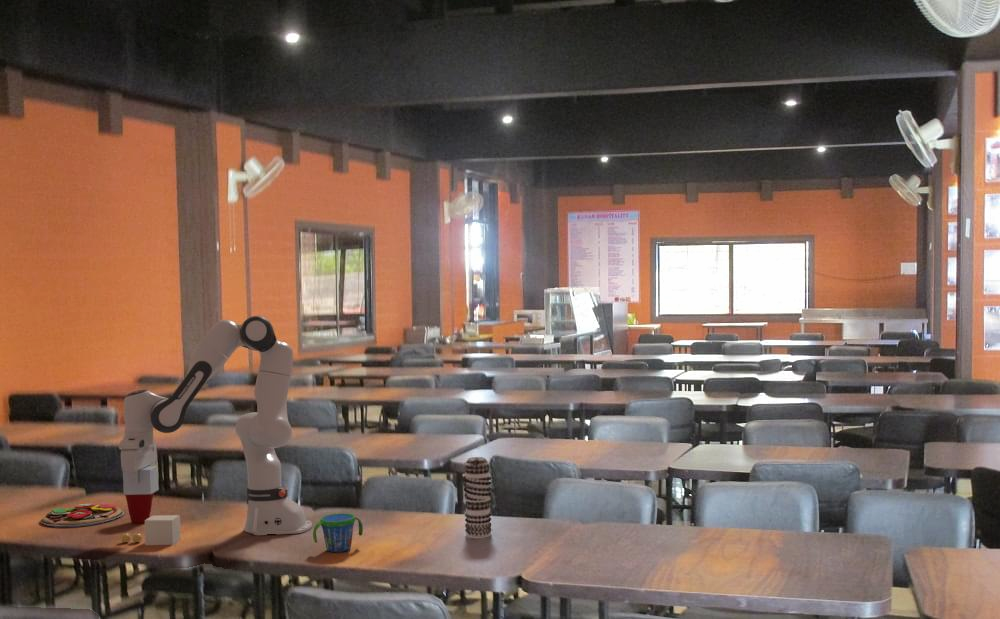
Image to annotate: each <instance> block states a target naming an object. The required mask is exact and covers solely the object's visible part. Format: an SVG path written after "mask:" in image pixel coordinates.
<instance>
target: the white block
mask: <svg viewBox="0 0 1000 619" xmlns="http://www.w3.org/2000/svg"><path fill="white" fill-rule="evenodd" d="M158 469H159V467H158V465H151V466H146V467H144V468H142V469H140V470H138V478H139V479H140V483H139V484H133V482H132V478H131V475H130V473H123V472H122V481H123V482H122V484H123V490H124V491H123V496H125V495H137V494H152V493H154V494H155V493H156V492H158V491H159V490H160V488H159V470H158Z"/></svg>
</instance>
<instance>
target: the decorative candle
mask: <svg viewBox="0 0 1000 619" xmlns="http://www.w3.org/2000/svg"><path fill="white" fill-rule="evenodd" d="M489 464H490V462H489V461H488V460H487V459H486V458H485V457H482V456H474V457H469V458H467V460H466V462H464V465H465V472H464V474H465V475H463V477H462V480H463V486H464V487H463V491H464V492H465V493H464V495H463V496H464V501H465V502H466V503H465V504H466V507H465V513H464V515H465V519H464V521H465V522H466V523H465V524H464V526H465V530H464V531H465V537H466V538H469V539H486V538H490V537H491V536H492V523H491V521H492V518H491V516H492V513H491V507H490V500H491V495H492V493H491V492H490V491H492V488H491V487H489V486H490V485H492V481H490V480H492V477H491V476H490V471H489V468H490V467H489ZM489 536H490V537H489Z"/></svg>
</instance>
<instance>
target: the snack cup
mask: <svg viewBox="0 0 1000 619" xmlns="http://www.w3.org/2000/svg"><path fill="white" fill-rule="evenodd" d="M356 520H357V521H358V535H359V536H362V535H363V532H364V527H363V523H362V521H361V519H359V518H358V517H357V516H355V515H354V514H351V513H344V512H343V513H341V512H339V513H331V514H327V515H324V516H322V517H320V520H319V521H318V522H317V523H316V524H315V526H314V527H313V528H314V529H313V532H312V538H313V542H314V543H316V544H317V543H318V539H317V531H318V530H317V529H318V528H319V527H320V526H321V528H322V531H323V538H324V543H325V548H326V551H327V552H331V553H342V552H343V553H344V552H346V551H349V550H350V549H351V547H352V542H353V540H352V539H353V536H354V535H353V534H354V533H353V532H354V525H355V521H356Z"/></svg>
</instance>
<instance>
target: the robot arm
mask: <svg viewBox="0 0 1000 619" xmlns="http://www.w3.org/2000/svg"><path fill="white" fill-rule="evenodd" d="M240 347H242V348H246V349H248V350H252V351H255V352H258V353H259V356H260V362H259V366H258V372H257V375H256V376H257V377H256V379H255V380H256V382H255V385H254V391H253V395H254V398H255V401H256V406H257V407H256V408H257V411H256V412H255V411H253V412H247V413H245V414H242V415H241V416H240V417H239V418H238V419H237V421H236V422H235V433H236V436H237V437H238V438H239V441H240V443H241V446H242V450H243V453H244V458H245V461H246V462H245V463H246V470H247V488H246V494H245V495H246V504H247V513H246V520H245V525H244V528H243V531H244V532H246V533H249V534H252V535H254V536H268V535H267V534H276V535H288V534H290V535H291V534H294V535H295V534H302V533H305V532H307V531H309V530H310V529H311V528H312V527H313V522H312V521H311V520H307V519H306V514H305V510H304V507H302V506H301V505H300V504H298V503H297V502H295V501H294V500H293V499H291V498H290V497H288V491H289V487H285V486H283V485H282V464H281V461H280V459H279V457H278V455H277V453H276V450H275V449H278V448H282V447H284V446H286V445H288V443H289V442H290V441H291V438H292V435H293V429H292V425H291V424H290V421H289V419H288V418H289V417H288V406H287V404H288V393H289V388H290V383H291V378H292V373H293V366H294V365H293V364H294V350H293V348H292V346H291V345H290V344H289V343H286V342H284V341H281V340H278V339H277V336H276V334H275V329H274V327H273V325H272V323H271V322H270V320H268V319H267V318H266V317H264V316H260V315H253V316H250V317H248V318H246V319H245V320H244V321H243V322H242V324H238V323H236V322H235V321H234V320H230V319H225V318H224V319H220V320H218V321H217V323H215V324H214V325H213V326H212V327H211V328H210V329H209V330H208V331H207V332H206V333H205V334H204V336H202V338H201V340H200V341H199V342H198V343H197V345H196V346H195V347H194V350H193V351H192V354H191V356H190V357H189V358H190V359H189V365H188V369H187V371H186V372H187V373H186V374H185V375H184V377H183V379H182V380H181V382H180V383H179V385H178V386H177V387H176V389H175V390H174V391H173V393H172V394H171V395H170V396H169V397H166V396H165V397H164V396H162V395H158V394H156V393H153V392H152V391H150V390H148V389H140V390H134V391H132V392H129V393H128V394H126V396H125V397H124V400H123V420H124V424H125V427H124V436H123V437H122V440H121V441H120V442H119V443H118V449H119V450H121V451H120V466H121V471H122V474H123V473H130V475H131V478H132V482H133V484H139V483H140V479H139V478H138V470H140V469H142V468H144V467H146V466H152V465H153V464H154V463H156V462H157V461H158V451H157V450H158V449H157V443H156V442H155V440H154V429H155V430H156V431H157V432H159V433H161V434H162V433H163V434H172V433H174V432H176V431H177V430H178V429H180V428H181V427H182V425H183V424H184V423H183V422H184V420H185V416H186V411H187V409H188V407H189V406H190V405H191V403H192V402H193V400H194V398H195V397H196V396H197V394H198V393H199V392H200V390H201V389H202V388H203V386H204V385H206V383H207V382H209V380H210V379H212V377H213V376H214V375H215V374H216V373H217V372H218V371H219V370H221V369H222V367H223V366H225V364H226V362H227V361H228V360H229V359H230V358H231V356H232V355H233V353H234V352H235V351H236V350H237V349H238V348H240Z"/></svg>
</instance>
